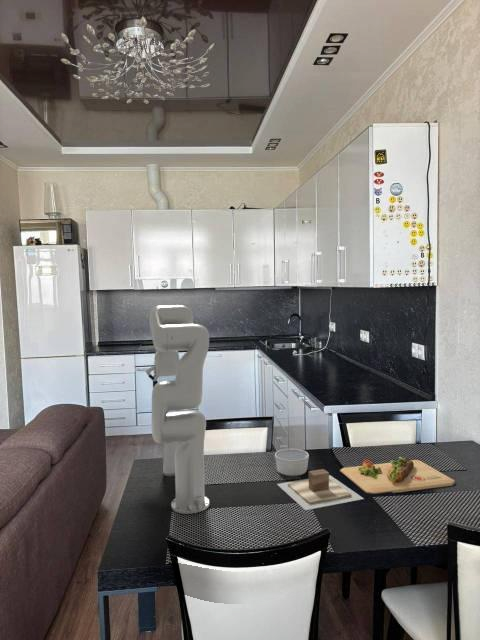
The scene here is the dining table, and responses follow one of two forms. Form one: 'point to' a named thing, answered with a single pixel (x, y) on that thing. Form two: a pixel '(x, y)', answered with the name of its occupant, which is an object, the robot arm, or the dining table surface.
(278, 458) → the ramekin
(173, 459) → the travel mug
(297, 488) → the oak lid
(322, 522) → the dining table surface
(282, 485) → the rubber mat
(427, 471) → the cutting board
